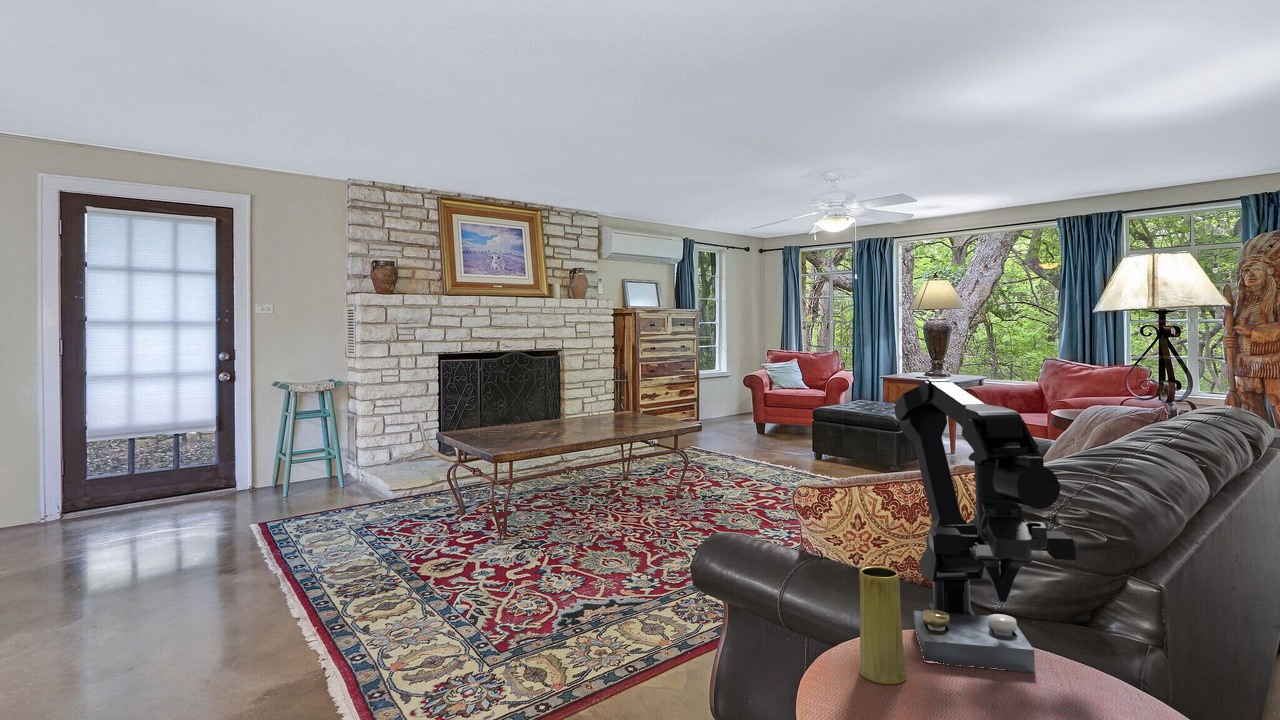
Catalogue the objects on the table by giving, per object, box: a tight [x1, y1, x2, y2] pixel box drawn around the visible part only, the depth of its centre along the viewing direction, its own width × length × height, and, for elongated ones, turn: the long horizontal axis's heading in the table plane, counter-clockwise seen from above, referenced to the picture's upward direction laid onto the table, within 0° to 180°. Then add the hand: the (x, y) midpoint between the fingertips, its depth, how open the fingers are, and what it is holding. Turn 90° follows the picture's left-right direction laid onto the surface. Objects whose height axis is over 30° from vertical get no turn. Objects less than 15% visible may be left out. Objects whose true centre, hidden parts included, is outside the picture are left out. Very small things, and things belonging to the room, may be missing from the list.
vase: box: [859, 565, 907, 686], centre depth 90 cm, size 6×6×14 cm
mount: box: [913, 610, 1036, 674], centre depth 96 cm, size 12×14×3 cm
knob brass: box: [922, 609, 949, 631], centre depth 98 cm, size 4×4×5 cm
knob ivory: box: [987, 613, 1018, 636], centre depth 95 cm, size 4×4×5 cm
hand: (1002, 601), depth 95 cm, fingers closed
